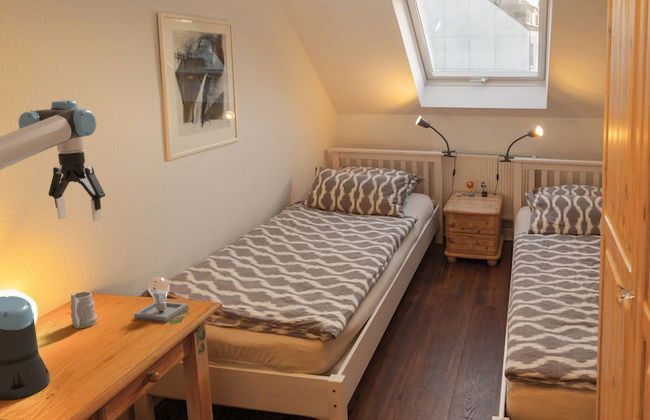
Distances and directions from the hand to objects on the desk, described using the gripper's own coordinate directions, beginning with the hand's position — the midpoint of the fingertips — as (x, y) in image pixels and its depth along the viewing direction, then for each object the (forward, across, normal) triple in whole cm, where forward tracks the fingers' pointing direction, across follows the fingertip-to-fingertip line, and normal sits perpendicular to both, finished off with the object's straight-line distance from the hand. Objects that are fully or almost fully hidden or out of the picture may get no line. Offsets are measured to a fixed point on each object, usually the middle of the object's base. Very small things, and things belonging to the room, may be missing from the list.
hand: (79, 219), depth 217 cm
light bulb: (+34, -17, -13) cm, 40 cm away
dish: (+34, -17, -13) cm, 41 cm away
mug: (+35, +2, +3) cm, 35 cm away
